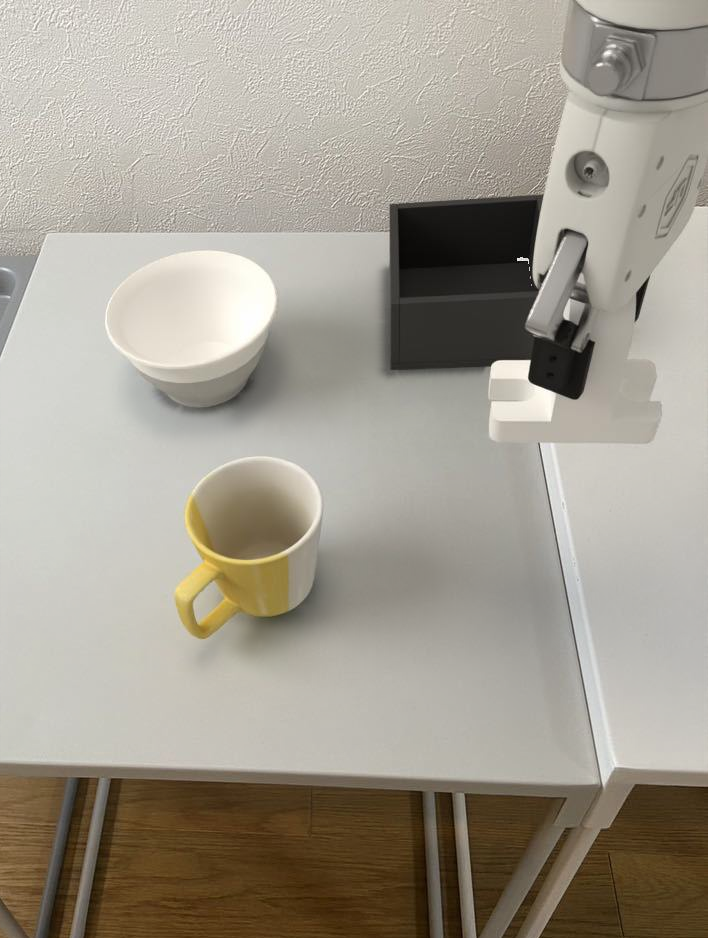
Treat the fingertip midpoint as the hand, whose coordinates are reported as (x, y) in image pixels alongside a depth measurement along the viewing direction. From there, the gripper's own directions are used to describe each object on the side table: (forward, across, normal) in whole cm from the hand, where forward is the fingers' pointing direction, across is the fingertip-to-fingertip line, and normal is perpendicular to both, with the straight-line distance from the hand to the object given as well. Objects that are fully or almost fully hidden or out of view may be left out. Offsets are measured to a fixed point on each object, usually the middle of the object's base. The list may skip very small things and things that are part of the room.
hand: (583, 349), depth 55 cm
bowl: (+24, +4, +38) cm, 45 cm away
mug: (+24, -14, +18) cm, 33 cm away
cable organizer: (+5, 0, 0) cm, 5 cm away
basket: (+24, +24, +20) cm, 39 cm away
